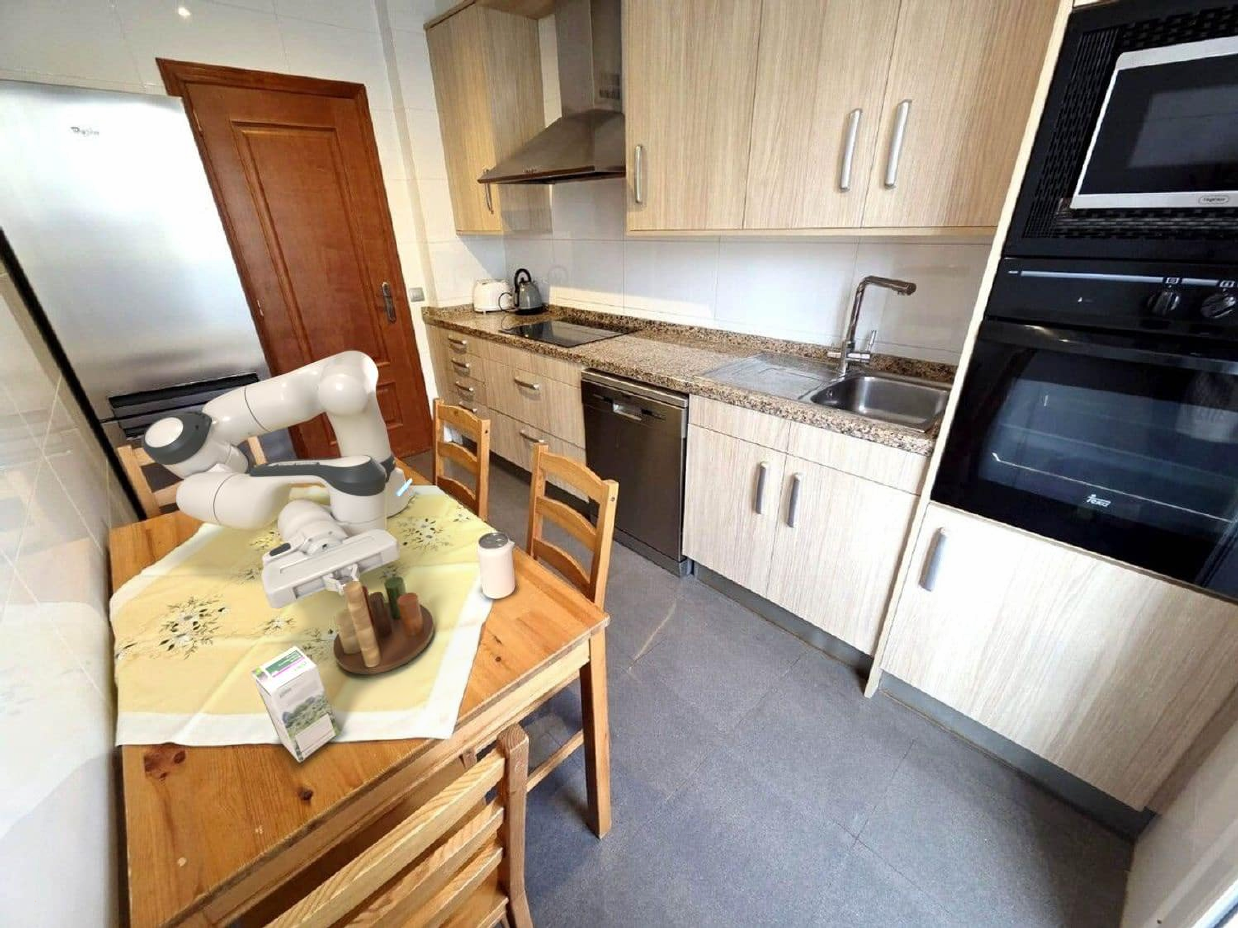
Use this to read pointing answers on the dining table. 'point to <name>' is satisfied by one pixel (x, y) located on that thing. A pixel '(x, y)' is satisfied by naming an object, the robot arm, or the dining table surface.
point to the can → (496, 565)
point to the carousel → (380, 628)
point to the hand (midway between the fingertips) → (350, 588)
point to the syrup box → (296, 702)
